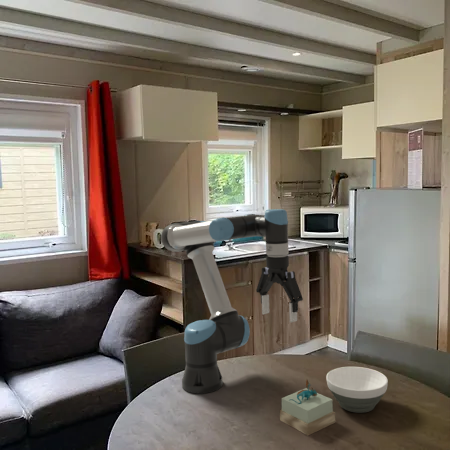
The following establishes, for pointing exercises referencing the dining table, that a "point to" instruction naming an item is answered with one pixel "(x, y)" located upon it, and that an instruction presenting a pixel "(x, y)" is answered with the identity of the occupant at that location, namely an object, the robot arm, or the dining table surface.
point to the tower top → (307, 406)
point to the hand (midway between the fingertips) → (279, 317)
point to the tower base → (307, 427)
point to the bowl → (357, 387)
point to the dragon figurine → (306, 393)
